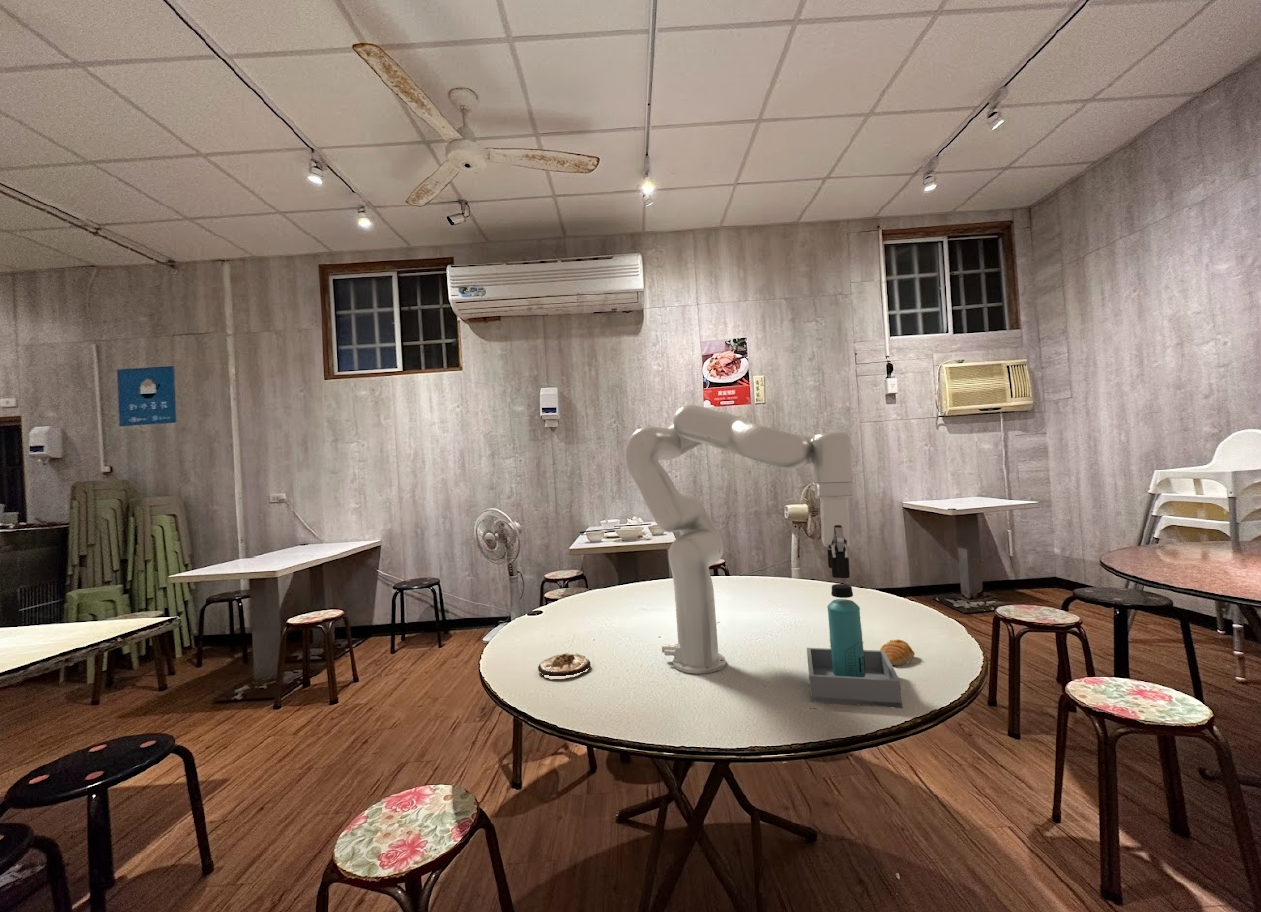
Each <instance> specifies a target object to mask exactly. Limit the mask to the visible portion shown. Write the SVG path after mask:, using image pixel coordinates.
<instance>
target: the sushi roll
mask: <svg viewBox="0 0 1261 912" xmlns="http://www.w3.org/2000/svg"><path fill="white" fill-rule="evenodd" d="M549 663H550V664H549ZM582 663H584V664H582ZM581 664H582V666H580V665H581ZM550 666H551V668H550V669H545V668H546V667H550ZM589 667H590V668H591V661H590V659H589V658H588V657H587V656H586V655H584V654H580V653H575V654H573V653H571V654H570V653H566V652H565V653H561V654H557V655H556V654H555V655H553V656H551V657H548V658H546V659H544V660H542V661H541V662H540V663H539V664H538V666H537V670H538V673H540V672H541V673H542V674H543V675H549V676H566V675H574V674H577V673H580V672H583V671H585V670H586V669H588V668H589ZM546 670H547V671H546ZM548 670H549V671H548ZM551 671H552V672H551Z"/></svg>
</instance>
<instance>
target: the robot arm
mask: <svg viewBox="0 0 1261 912" xmlns="http://www.w3.org/2000/svg"><path fill="white" fill-rule="evenodd" d="M672 419H673V420H672V425H670V426H669V427H660V426H644V427H641V428H639V429H637V430H635V431H634V432H633V433H632V434H631V436H630V437H629V438H628V441H627V444H626V448H625V464H626V466H627V469H628V472H629V474H630V475H631V477H632V479H633V481H634V482H635V484H636V486H637V489H638V490H639V491H640V494H641V497H642V498H643V500H644V502H645V504H646V506H647V507H648V510H649V512H650V514H651V516H652V517H653V520H654V522H655V523H656V525H657V527H658V528H659V529H660V530H661V531H663V532H664V533H676V532H679V533H680V535H679V536H678V537H677V538H675V539H674V540H673V542H672V543H671V545H670V547H669V550H668V560H669V561H668V563H669V566H670V570H671V575H672V581H673V588H674V589H673V590H674V602H675V615H676V616H675V617H676V629H677V643H674V645H670V644H662V645H661V652H662V654H664V656H665V657H666V656H668V657H670V656H672V657H673V660H672V663H673V667H674V668H675V669H676V670H678V671H680V672H683V673H686V674H687V673H688V674H694V675H695V674H696V675H697V674H698V675H699V674H701V675H702V674H711V673H714V672H717V671H719V670H721V669H723V668H724V667H725V666H726V657H725V656H724V655H722V653H719V645H718V643H719V642H718V630H717V628H718V627H717V617H716V615H717V614H716V604H715V603H716V602H715V591H714V590H715V589H714V583H713V579H712V576H711V573H710V567H711V566H713V565H715V564H717V562H719V561H720V560H721V558H722V556H723V553H724V543H723V540H722V538H721V535H720V533H719V531H718V530H717V528H716V526H715V524H714V522H713V520H712V519H711V517H710V515H709V513H708V511H707V509H706V508H705V505H704V504H703V503H702V502H701V500H700V499H699V498H697V497H696V496H695V495H694V494H691V493H687V492H679V491H678V489H677V488H676V487H677V486H676V485H675V484H674V482H673V480H672V477H671V476H670V475H669V473H668V472H667V471H666V469H665V468H664V467H663V466H662V464H661V463H660V461H659V460H662V461H663V460H664V461H665V460H667V461H668V460H673V459H675V458H678V457H680V456H683V455H684V454H686V453H688V452H689V451H691V450H694V449H695V448H697V447H699V446H701V445H706V446H710V447H713V448H716V449H719V450H723V451H725V452H728V453H732V454H734V455H738V456H742V457H744V458H747V459H750V460H754V461H756V462H760V463H764V464H766V465H769V466H773V467H776V468H779V469H785V470H792V469H793V470H794V469H802V468H809V467H813V478H814V480H813V482H814V495H815V496H814V498H815V499H818V500H819V499H820V509H819V510H820V527H821V528H820V530H821V532H820V533H821V542H822V544H823V546H824V547H828V548H827V564H828V568H829V569H831V576H832V578H833V579H849V578H850V560H849V559H850V558H849V555H848V550H847V549H848V547H849V546H850V544H851V543H850V539H851V538H850V536H851V535H850V511H849V510H850V509H849V500H848V499H853V498H855V495H854V482H853V481H854V480H853V462H852V443H851V442H852V441H851V438H850V434H848V433H847V432H844V431H829V432H820V433H817V434H814V435H805V434H797V433H790V432H786V431H783V430H778V429H774V428H770V427H767V426H763V425H760V424H757V423H753V422H751V421H748V420H747V419H745V418H744V417H741V416H738V415H734V414H730V413H727V412H722V411H718V410H714V409H711V408H707V407H706V406H700V405H694V404H689V405H688V404H687V405H684V406H682V407H680V408H678V409H677V411H676V412H675V413H674V416H673V418H672Z"/></svg>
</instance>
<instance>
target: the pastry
mask: <svg viewBox="0 0 1261 912" xmlns="http://www.w3.org/2000/svg"><path fill="white" fill-rule="evenodd" d="M879 651H885V653H886V655H887V657H888V659H889V661H890V663H891V665H892V666H897V667H898V666H900V665H904V664H905V665H906V664H908V662H910V661H911V660H912V659H913V658H914V657H915V654H916V653H915V651H914V650H913V649H912V646H910V645H909V643H908V642H906V641H904V640H901V639H891V640H889V641H887V642H886V643H884V644H883V645H882V646H881V647H880V649H879Z"/></svg>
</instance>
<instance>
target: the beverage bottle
mask: <svg viewBox="0 0 1261 912" xmlns="http://www.w3.org/2000/svg"><path fill="white" fill-rule="evenodd" d="M831 596H832V597H835V598H837V599H833V600H832V601H831V602H829V604H827V607H826V608H827V616H828V628H829V629H828V630H829V643H830V644H829V646H830V649H831V650H830V651H831V660H832V661H831V662H832V664H831V665H832V667H833V673H834V675H835V676H848V677H865V672H866V671H865V669H866V668H865V667H866V666H865V661H864V658H865V657H864V653H863V650H865V648H864V641H863V631H862V630H863V628H862V623H861V622H862V621H861V608H860V606H859V605H858V604H857V603H856V602H855V601H854V600H851V599H848V598H852V597H853V596H854V594H853V587H852V585H850V584H847V583H846V584H845V583H835V584H832V585H831Z"/></svg>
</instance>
